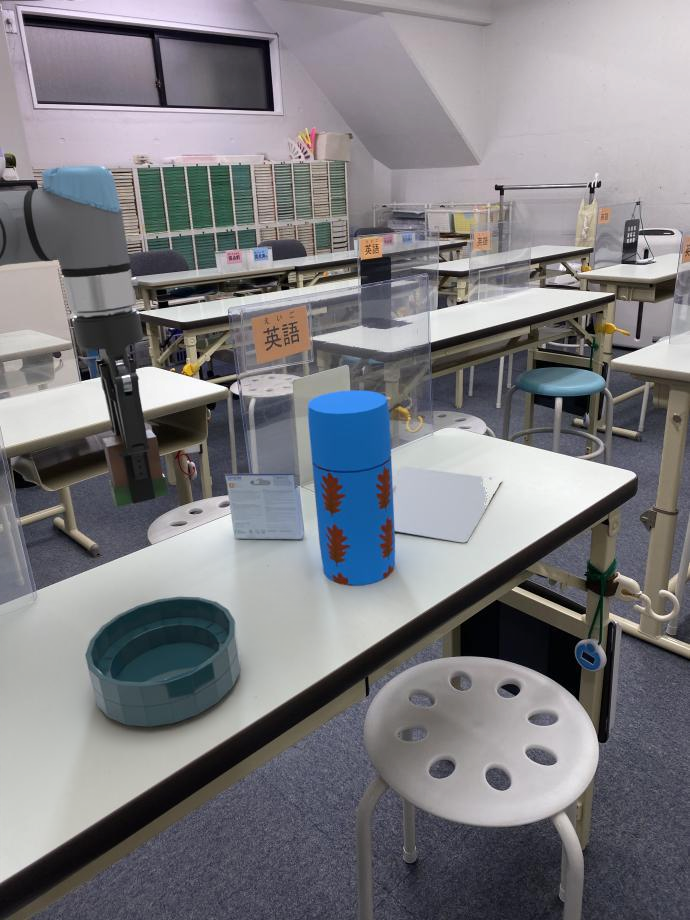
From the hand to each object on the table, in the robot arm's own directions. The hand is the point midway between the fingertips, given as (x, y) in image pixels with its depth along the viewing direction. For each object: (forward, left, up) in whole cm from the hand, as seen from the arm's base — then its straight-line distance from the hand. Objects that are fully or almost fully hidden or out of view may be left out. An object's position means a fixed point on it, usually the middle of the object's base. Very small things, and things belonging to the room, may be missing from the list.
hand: (140, 493), depth 88 cm
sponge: (0, 0, 0) cm, 0 cm away
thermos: (+6, +27, -17) cm, 33 cm away
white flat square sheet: (-8, +46, -17) cm, 50 cm away
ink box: (-10, +19, -17) cm, 28 cm away
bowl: (+17, -3, -16) cm, 24 cm away
